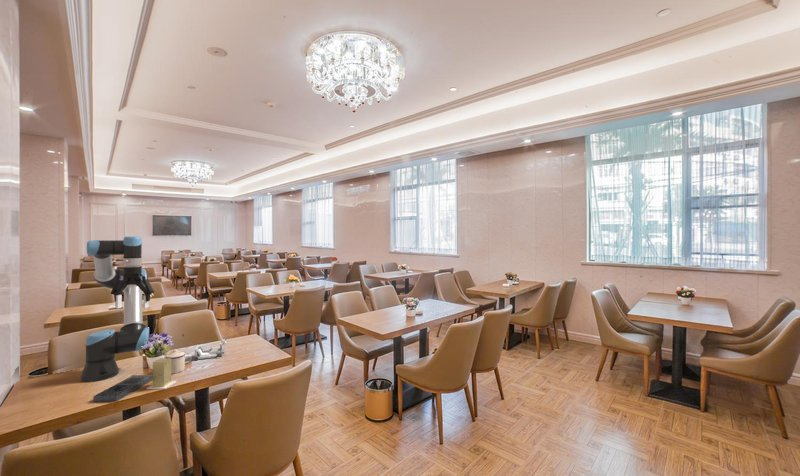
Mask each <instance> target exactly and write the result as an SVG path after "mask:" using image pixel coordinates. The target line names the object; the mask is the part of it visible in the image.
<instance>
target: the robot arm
mask: <svg viewBox="0 0 800 476" xmlns="http://www.w3.org/2000/svg"><path fill="white" fill-rule="evenodd" d="M142 246H143V241H142V237H141V236H124V237H123V239H122V240H116V239H115V240H114V239H113V240H107V239H106V240H100V239H96V240H88V241H87V242H86V254H87V255H89V256H93V264H94V272H93V278H94V280H95V282H96V283H97V284H99V285H100V286H102V287H104V288H107V289H111V290H110V295H114V302H115V306H116V307H115V309H120V308H123V325H122V326H121V327H120V328H119V330H118V331H116V330H115V329H114V328H111V329H109V328H108V329H104V330H103V329H102V330H98V331H95V332H93V333H90V334H88V335H87V336H86V338H85V345H84V346H85V364H84V367H83V370H82V373H81V375H80V381H81V382H98V381H103V380H107V379H110V378H113V377H115V376H117V375H118V374H119V373H120V368H119V367H118V363H117V361H116V358H115V355H117V354H118V355H119V354H124V353H132V352H137V351H143V350H142V347H141V346H143V344H144V345H146V344H147V342H148V343H149V335H150V327H147V325H146V324H145V323H144V322H143V317H144V316H143V313H144V312H143V309H147V308H149V302H150V301H151V295H152V294H154V293H155V291H154V287H152V284H151V282H150V281H149V276H148V275H147V271H146V269H144V268H142V265H143V263H142V262H143V261H142V258H143V257H142V254H143V253H142V252H143V251H142V250H143V249H142ZM112 255H113V256H115V255H116V256H117V255H118V256H119V255H123V259H122V260H123V264H122V266H123V267H122V268H119V269H118V268H117V269H115V268H113V267H114V266H113V258H112V257H113V256H112ZM122 293H123V296H122ZM143 294H144V295H143ZM122 302H123V303H122ZM122 304H123V305H122ZM122 306H123V307H122ZM147 345H148V344H147Z"/></svg>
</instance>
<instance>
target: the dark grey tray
mask: <svg viewBox="0 0 800 476" xmlns="http://www.w3.org/2000/svg"><path fill="white" fill-rule="evenodd" d="M150 382H153V374H139V375H138V374H137V375H135V374H133V375H131V376H129V377H128V378H125V379H123V380H121V381H120V382H118V383H116V384H114V385H112V386H110V387H108V388H106V389H105V390H102V391H101V392H99V393H97V394H95V395H93V397H92V398H93V402H94V403H105V402H106V403H108V402H109V403H110V402H112V403H113V402H118V401H120V400H121V399H123V398H126V397H127V396H128V395H130V394H132V393H133V392H135V391H137V390H138V389H140V388H142V387H143V386H145V385H147V384H148V383H150Z"/></svg>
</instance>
